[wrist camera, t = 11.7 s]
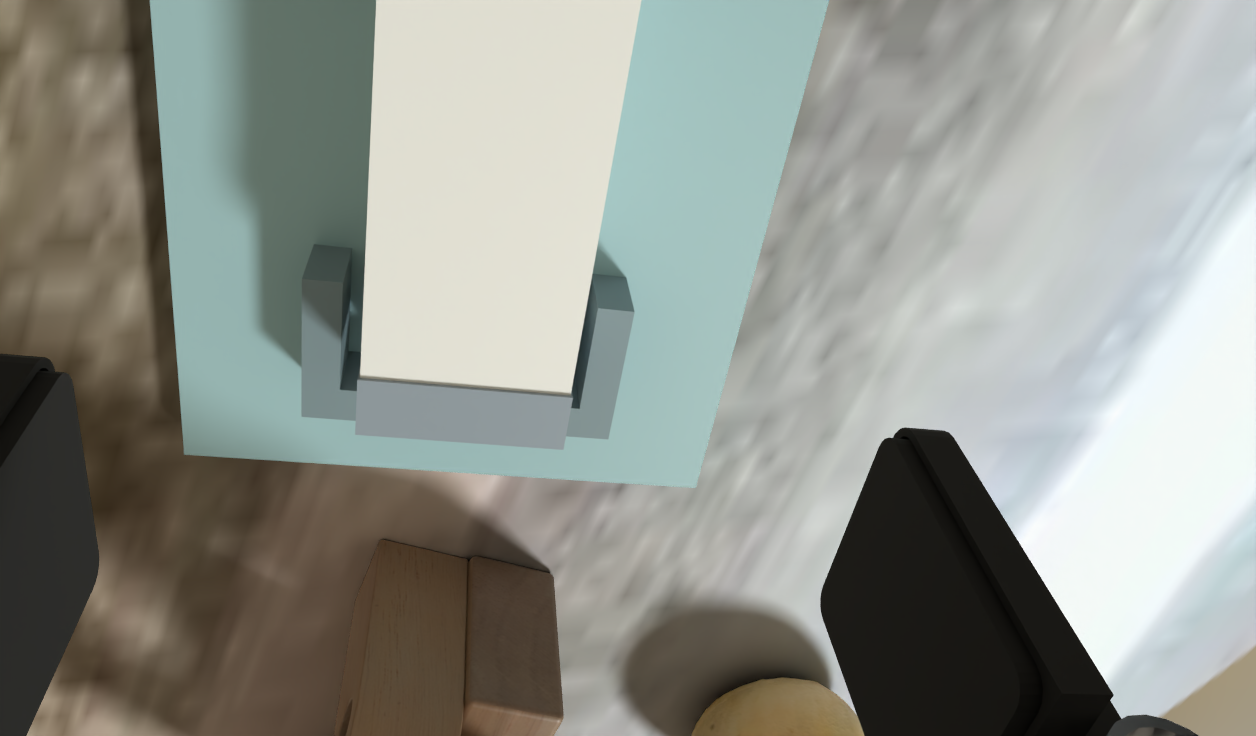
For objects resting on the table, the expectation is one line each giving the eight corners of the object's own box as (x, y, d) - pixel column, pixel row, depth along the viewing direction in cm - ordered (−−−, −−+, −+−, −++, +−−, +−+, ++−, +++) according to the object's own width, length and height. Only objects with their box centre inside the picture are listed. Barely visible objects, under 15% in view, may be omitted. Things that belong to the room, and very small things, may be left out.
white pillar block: (405, -240, 21) (382, -232, 16) (640, -193, 22) (676, -173, 17) (375, 327, 28) (355, 434, 24) (553, 344, 29) (563, 450, 25)
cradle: (123, -612, 18) (59, -671, 15) (920, -407, 21) (982, -426, 19) (194, 431, 31) (165, 497, 28) (689, 465, 34) (706, 528, 31)
